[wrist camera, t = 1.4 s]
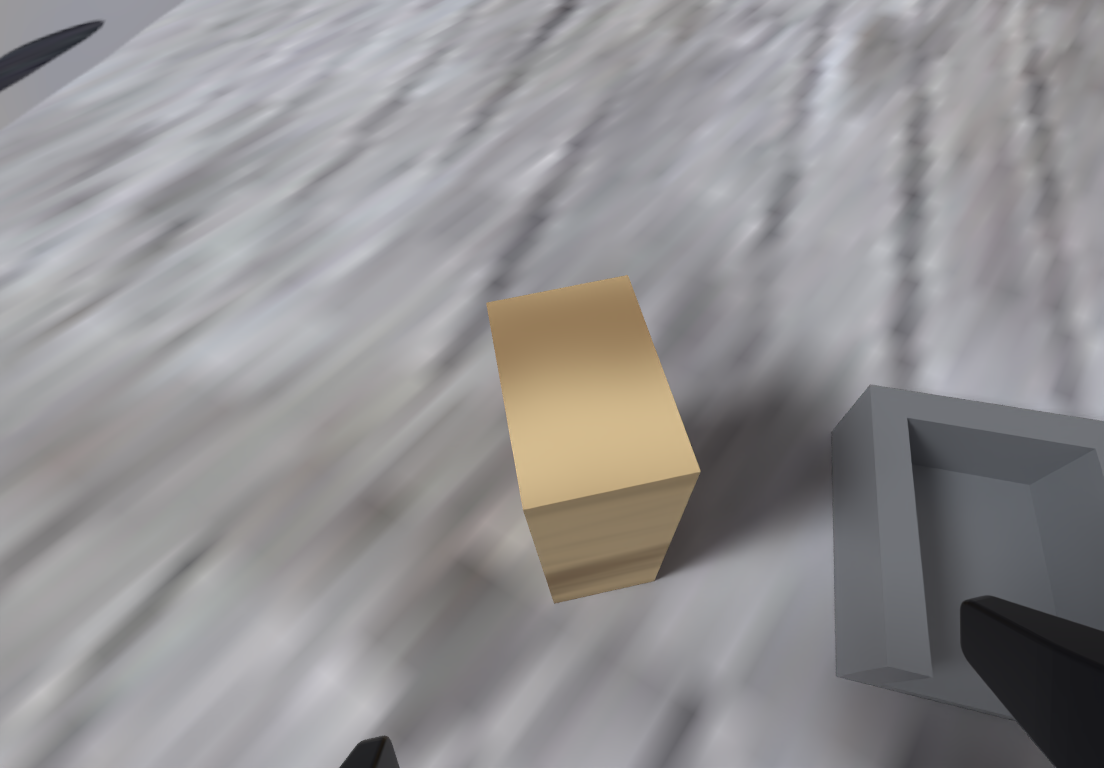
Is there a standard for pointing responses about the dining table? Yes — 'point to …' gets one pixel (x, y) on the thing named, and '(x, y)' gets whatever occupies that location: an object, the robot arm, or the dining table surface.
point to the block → (592, 435)
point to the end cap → (957, 532)
